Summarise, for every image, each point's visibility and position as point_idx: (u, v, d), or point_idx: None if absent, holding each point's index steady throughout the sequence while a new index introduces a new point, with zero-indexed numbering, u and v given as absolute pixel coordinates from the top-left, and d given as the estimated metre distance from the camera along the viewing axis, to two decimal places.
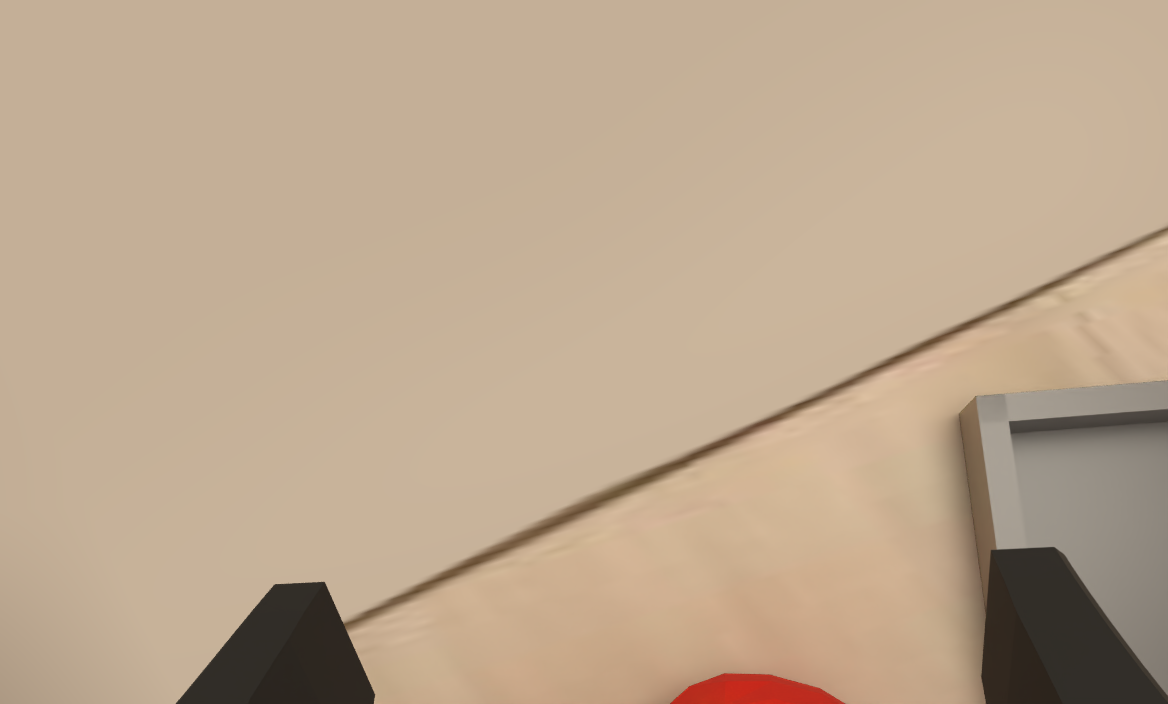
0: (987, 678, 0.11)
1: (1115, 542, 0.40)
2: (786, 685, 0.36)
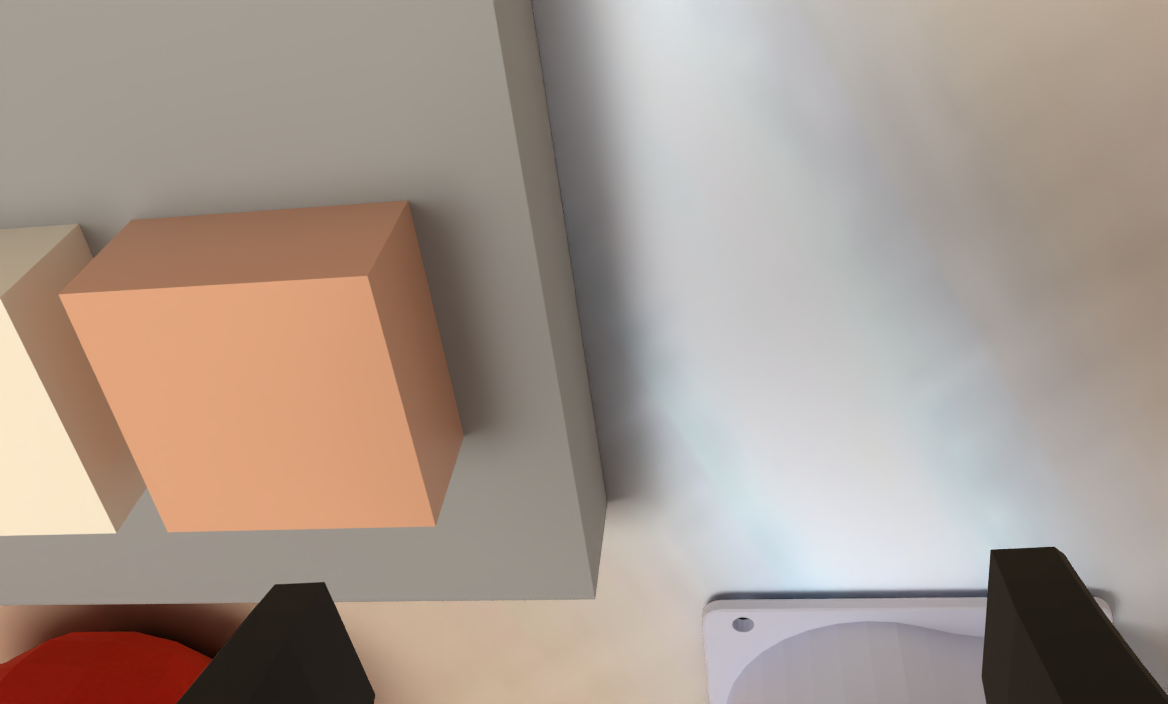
0: (987, 678, 0.11)
1: None
2: None
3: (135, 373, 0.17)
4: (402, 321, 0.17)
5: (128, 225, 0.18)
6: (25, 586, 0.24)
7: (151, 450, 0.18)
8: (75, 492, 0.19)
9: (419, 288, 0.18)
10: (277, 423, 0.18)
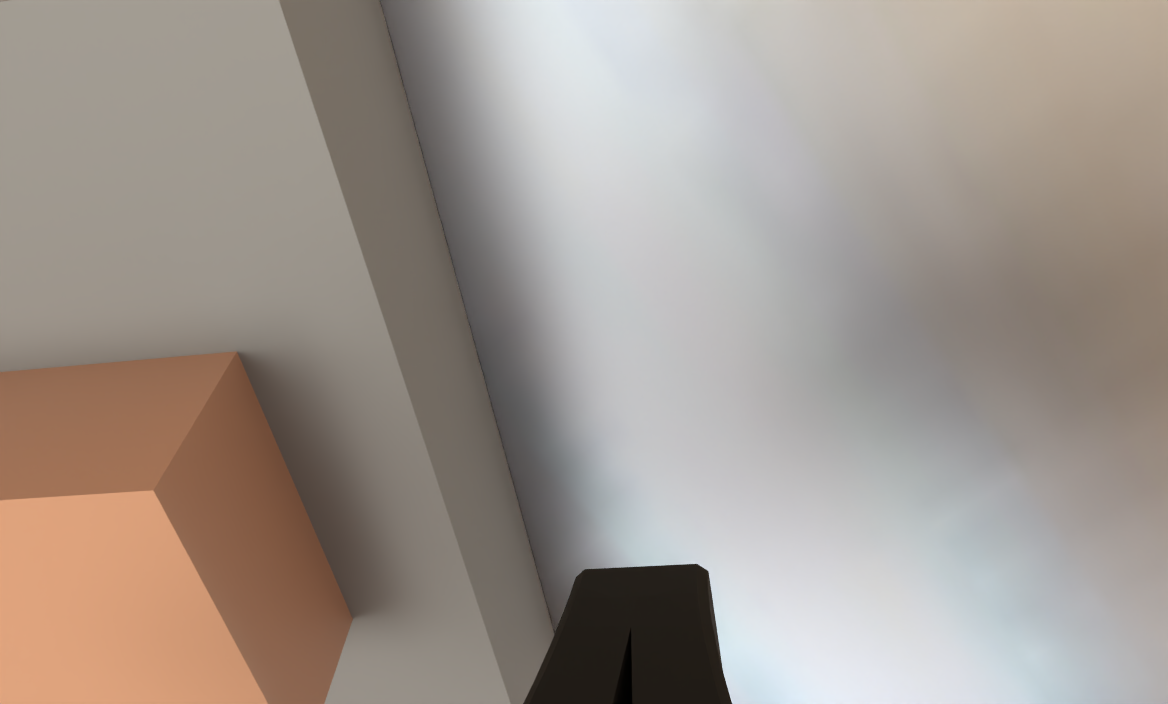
0: None
1: None
2: None
3: None
4: (230, 522, 0.13)
5: None
6: None
7: None
8: None
9: (263, 461, 0.14)
10: (74, 659, 0.13)
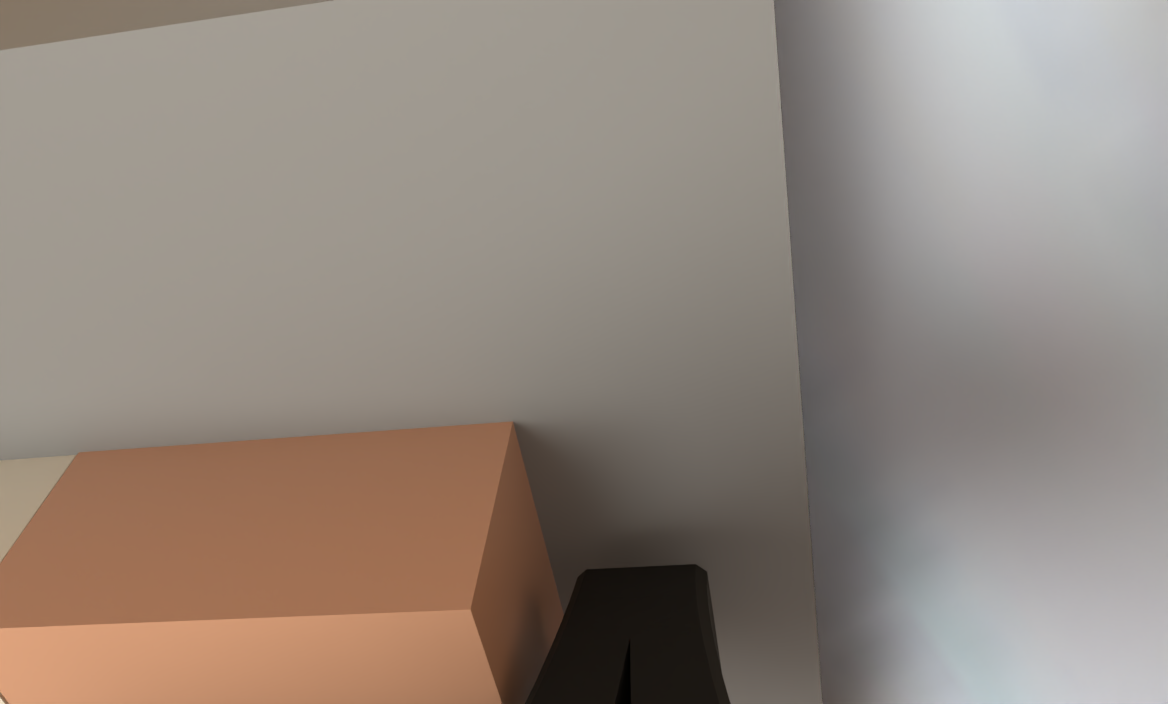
0: None
1: None
2: None
3: None
4: (517, 630, 0.11)
5: (74, 464, 0.12)
6: None
7: None
8: None
9: (533, 549, 0.12)
10: None
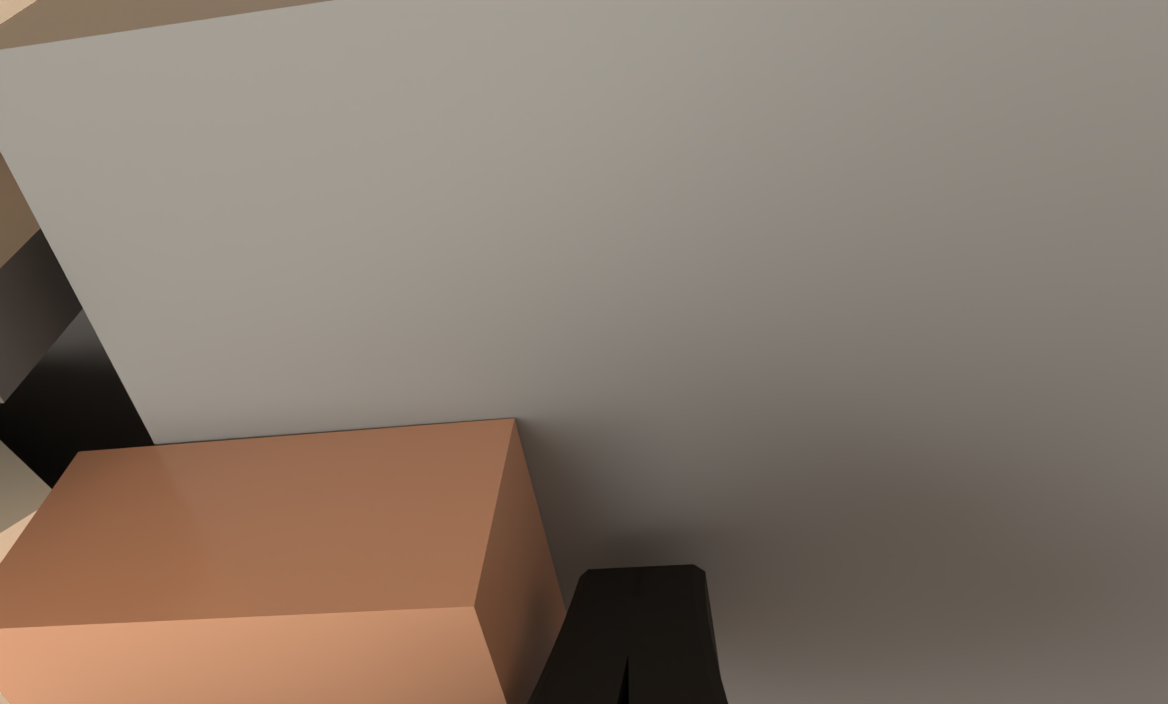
0: None
1: None
2: None
3: None
4: (520, 628, 0.11)
5: (73, 464, 0.12)
6: None
7: None
8: None
9: (535, 547, 0.12)
10: None
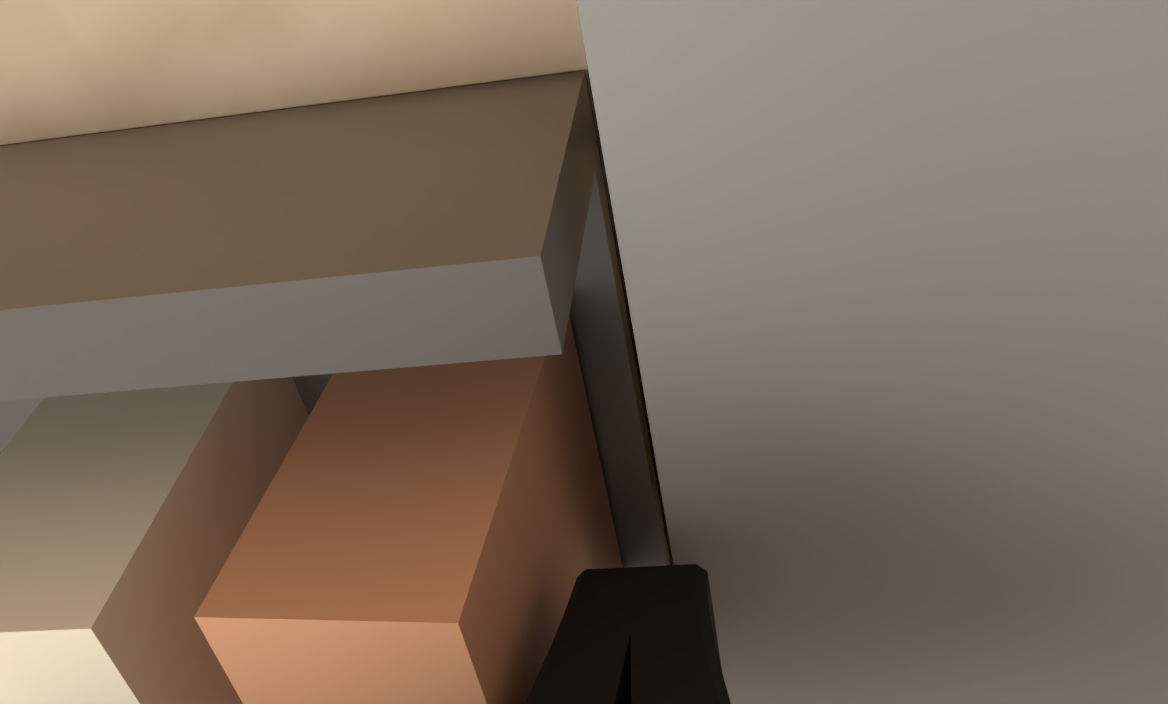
0: None
1: None
2: None
3: None
4: None
5: None
6: None
7: None
8: None
9: None
10: None
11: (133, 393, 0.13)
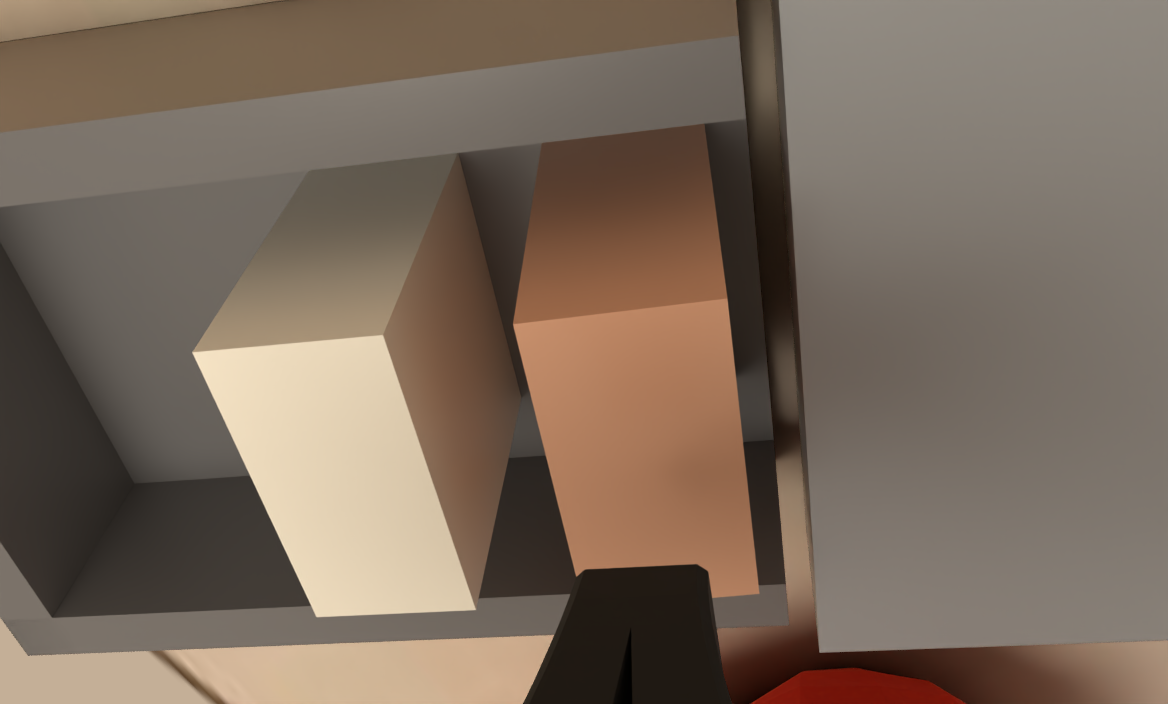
0: None
1: None
2: None
3: None
4: (608, 408, 0.13)
5: None
6: (872, 628, 0.19)
7: None
8: None
9: (699, 401, 0.13)
10: None
11: (359, 202, 0.16)
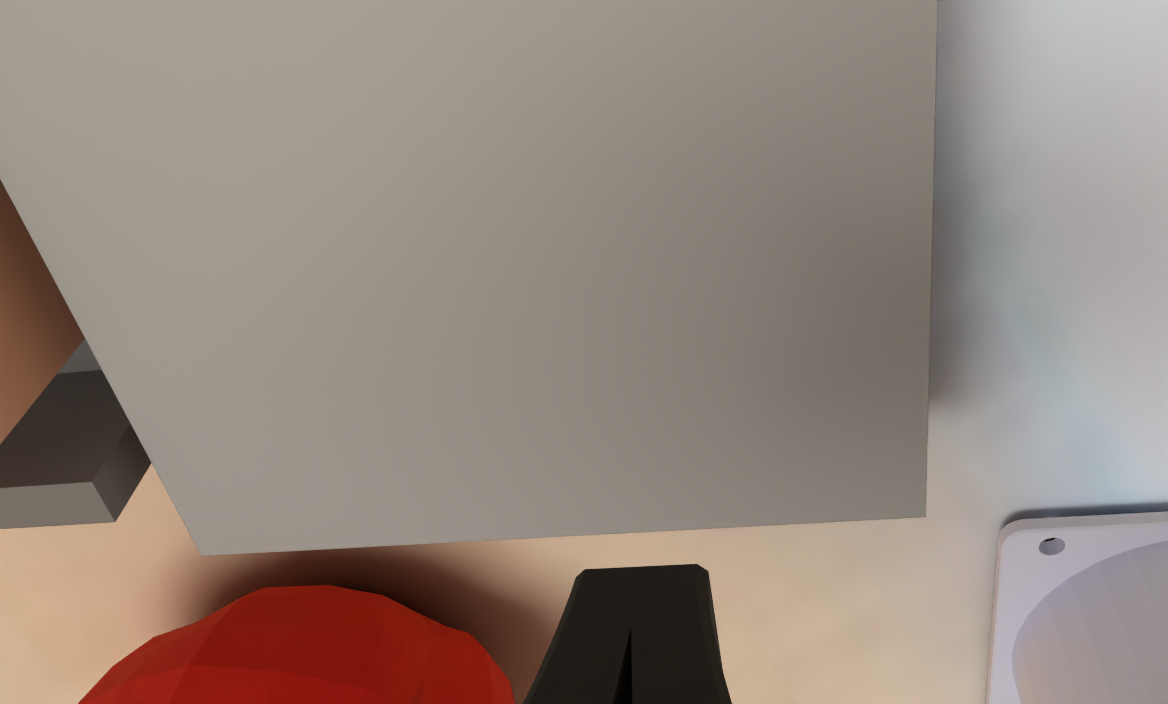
0: None
1: None
2: None
3: None
4: None
5: None
6: (234, 532, 0.21)
7: None
8: None
9: None
10: None
11: None
